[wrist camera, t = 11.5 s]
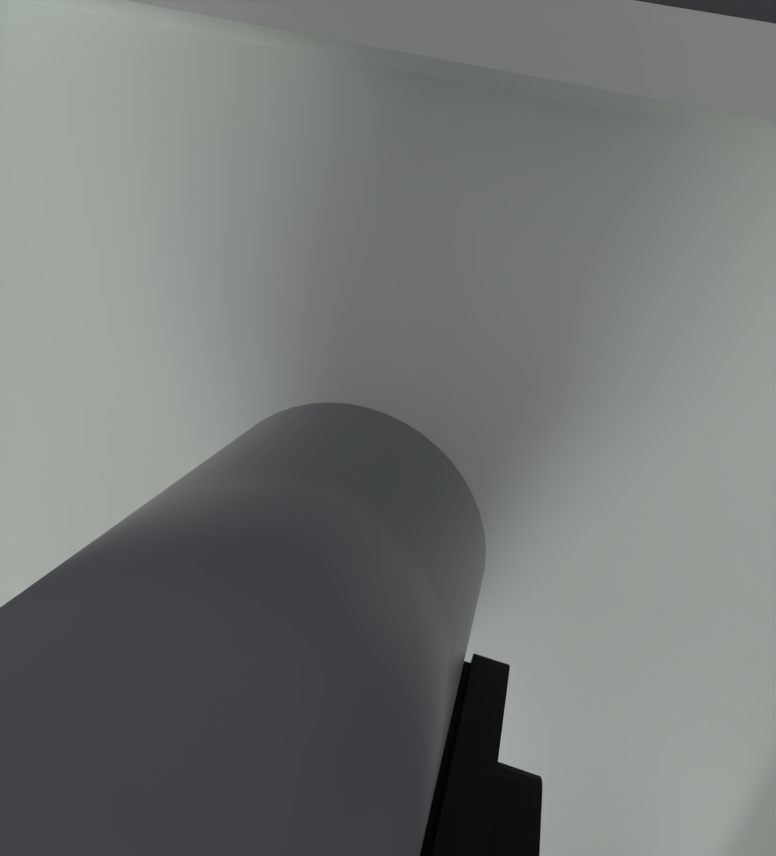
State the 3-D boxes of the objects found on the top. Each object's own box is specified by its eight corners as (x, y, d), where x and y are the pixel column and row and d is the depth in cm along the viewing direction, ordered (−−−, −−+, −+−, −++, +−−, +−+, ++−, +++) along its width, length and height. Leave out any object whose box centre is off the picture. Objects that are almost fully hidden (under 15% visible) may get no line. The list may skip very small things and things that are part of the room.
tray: (1215, 147, 10) (1421, 129, 7) (701, 1059, 16) (723, 1201, 14) (-49, -73, 13) (-186, -135, 10) (-39, 766, 20) (-120, 841, 17)
